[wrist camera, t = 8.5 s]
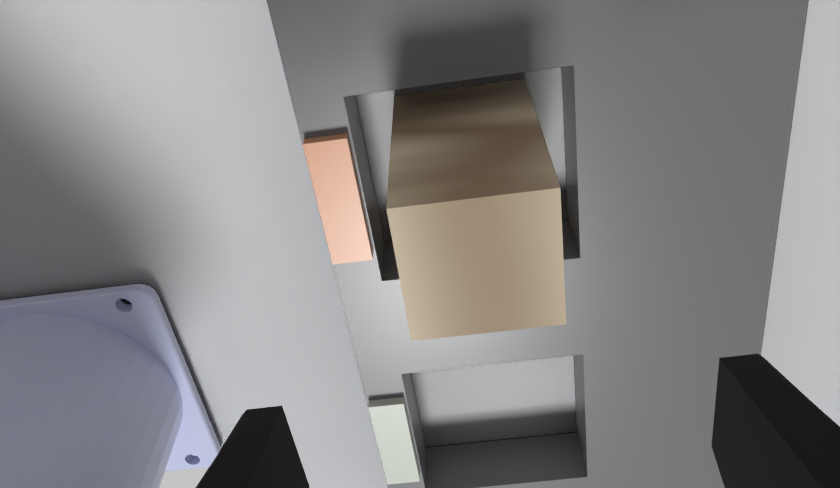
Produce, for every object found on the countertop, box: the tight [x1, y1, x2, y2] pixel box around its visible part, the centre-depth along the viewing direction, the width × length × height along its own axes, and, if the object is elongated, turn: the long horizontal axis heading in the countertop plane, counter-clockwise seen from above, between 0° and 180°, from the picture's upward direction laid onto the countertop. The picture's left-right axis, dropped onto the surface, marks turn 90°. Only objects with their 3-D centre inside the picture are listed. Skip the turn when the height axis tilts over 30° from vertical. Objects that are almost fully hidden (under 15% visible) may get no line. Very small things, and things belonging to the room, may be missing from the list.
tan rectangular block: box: [386, 79, 566, 341], centre depth 19 cm, size 4×4×6 cm
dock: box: [267, 0, 809, 488], centre depth 22 cm, size 12×20×2 cm, turn 8°
